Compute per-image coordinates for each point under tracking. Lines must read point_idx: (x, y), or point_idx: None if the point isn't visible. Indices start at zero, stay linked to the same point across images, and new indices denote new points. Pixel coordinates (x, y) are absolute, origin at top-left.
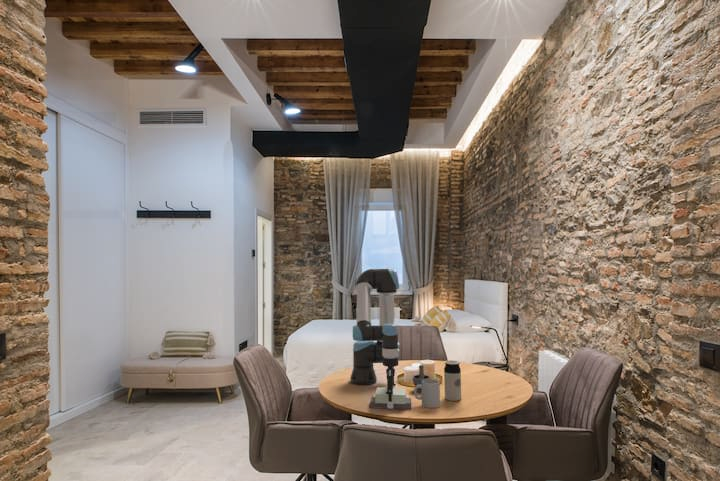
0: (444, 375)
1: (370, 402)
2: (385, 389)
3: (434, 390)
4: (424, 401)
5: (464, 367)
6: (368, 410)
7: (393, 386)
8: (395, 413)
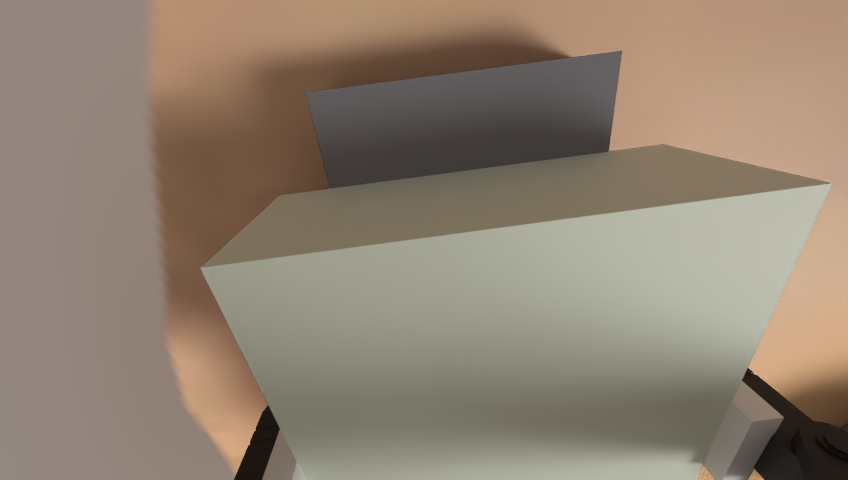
0: None
1: (310, 98)
2: (620, 379)
3: None
4: None
5: None
6: (194, 95)
7: (742, 473)
8: (251, 380)
